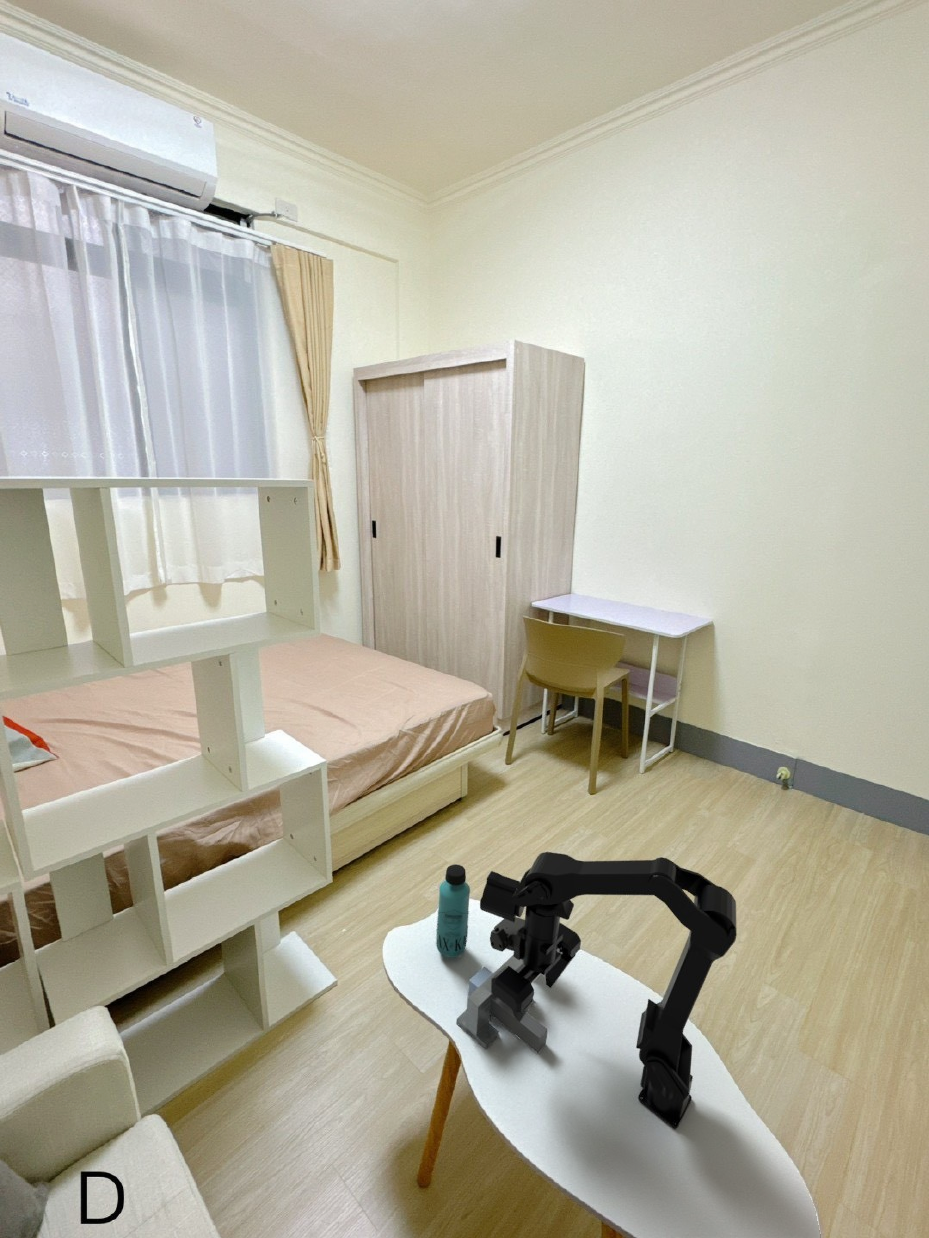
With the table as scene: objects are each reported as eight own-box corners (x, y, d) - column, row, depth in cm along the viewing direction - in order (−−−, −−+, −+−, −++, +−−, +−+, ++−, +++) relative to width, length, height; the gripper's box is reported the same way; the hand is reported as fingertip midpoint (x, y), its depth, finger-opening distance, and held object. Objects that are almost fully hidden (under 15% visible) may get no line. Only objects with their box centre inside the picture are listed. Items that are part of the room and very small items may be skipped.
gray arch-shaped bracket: (532, 998, 110) (535, 966, 109) (485, 1049, 100) (488, 1014, 98) (504, 976, 115) (506, 945, 113) (456, 1023, 105) (458, 989, 103)
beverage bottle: (432, 942, 122) (435, 861, 117) (461, 936, 124) (466, 856, 119) (439, 967, 116) (443, 883, 111) (471, 960, 118) (476, 877, 113)
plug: (549, 1040, 102) (551, 1018, 101) (534, 1057, 99) (537, 1035, 98) (479, 984, 113) (480, 963, 112) (463, 998, 110) (465, 976, 109)
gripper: (534, 877, 108) (528, 945, 112) (468, 930, 95) (463, 1006, 99) (586, 908, 101) (577, 980, 105) (522, 971, 88) (515, 1051, 92)
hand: (533, 1002), depth 100 cm, fingers open, 9 cm apart
